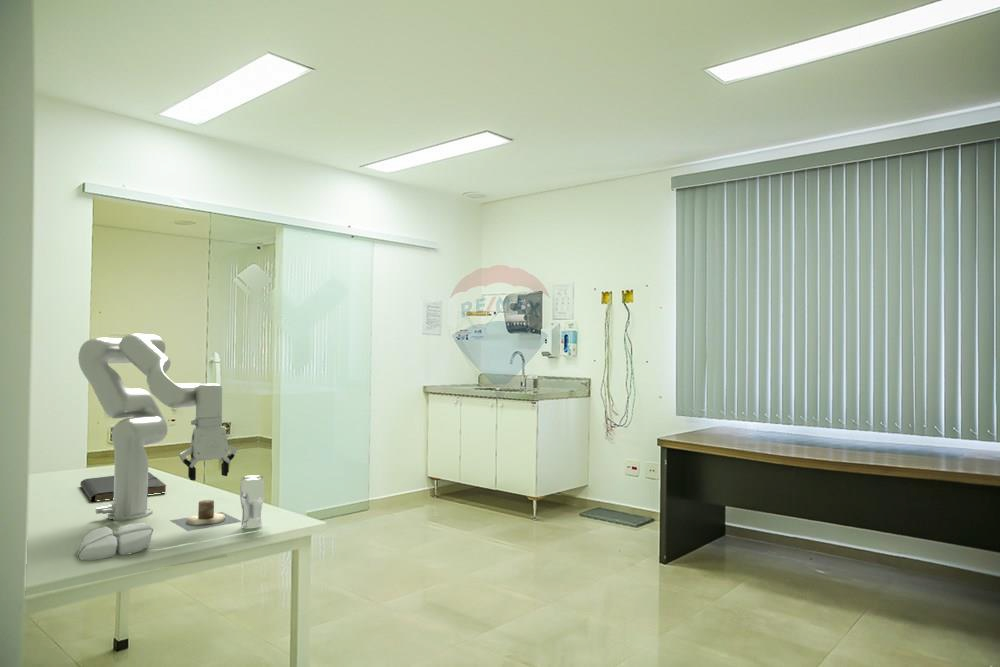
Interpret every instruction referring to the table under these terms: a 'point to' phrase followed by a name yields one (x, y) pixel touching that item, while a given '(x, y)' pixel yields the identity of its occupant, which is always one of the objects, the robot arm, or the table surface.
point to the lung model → (115, 541)
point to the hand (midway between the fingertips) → (208, 477)
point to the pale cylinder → (251, 501)
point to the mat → (188, 527)
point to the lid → (205, 515)
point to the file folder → (105, 487)
